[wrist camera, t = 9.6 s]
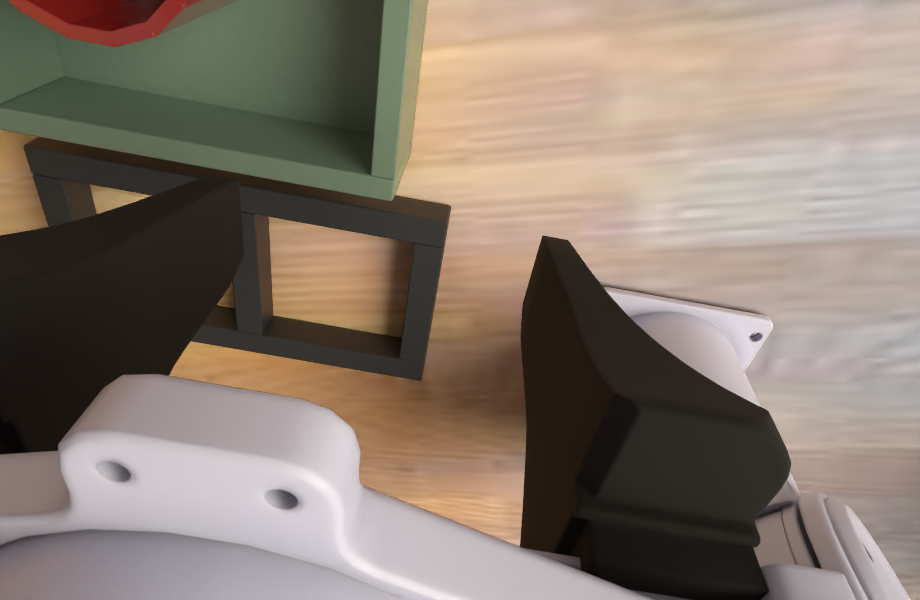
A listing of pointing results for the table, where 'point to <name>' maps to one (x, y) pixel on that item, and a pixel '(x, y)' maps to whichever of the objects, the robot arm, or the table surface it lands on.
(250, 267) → the frame
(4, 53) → the basin
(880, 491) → the table surface
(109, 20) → the cup
